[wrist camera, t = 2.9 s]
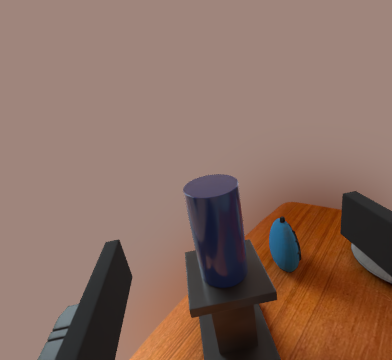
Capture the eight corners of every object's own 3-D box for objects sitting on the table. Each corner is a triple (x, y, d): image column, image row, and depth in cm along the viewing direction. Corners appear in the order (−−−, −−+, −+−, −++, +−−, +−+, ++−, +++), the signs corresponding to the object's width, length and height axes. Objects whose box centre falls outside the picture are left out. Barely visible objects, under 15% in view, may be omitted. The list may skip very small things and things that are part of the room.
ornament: (308, 279, 39) (308, 228, 35) (279, 283, 39) (277, 233, 36) (289, 247, 47) (287, 203, 43) (265, 251, 47) (262, 207, 43)
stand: (207, 381, 28) (189, 310, 24) (199, 314, 37) (184, 252, 32) (281, 365, 28) (276, 291, 24) (256, 302, 37) (249, 239, 32)
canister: (204, 293, 25) (185, 203, 21) (197, 258, 30) (180, 180, 26) (255, 281, 26) (246, 190, 22) (239, 249, 31) (229, 170, 27)
